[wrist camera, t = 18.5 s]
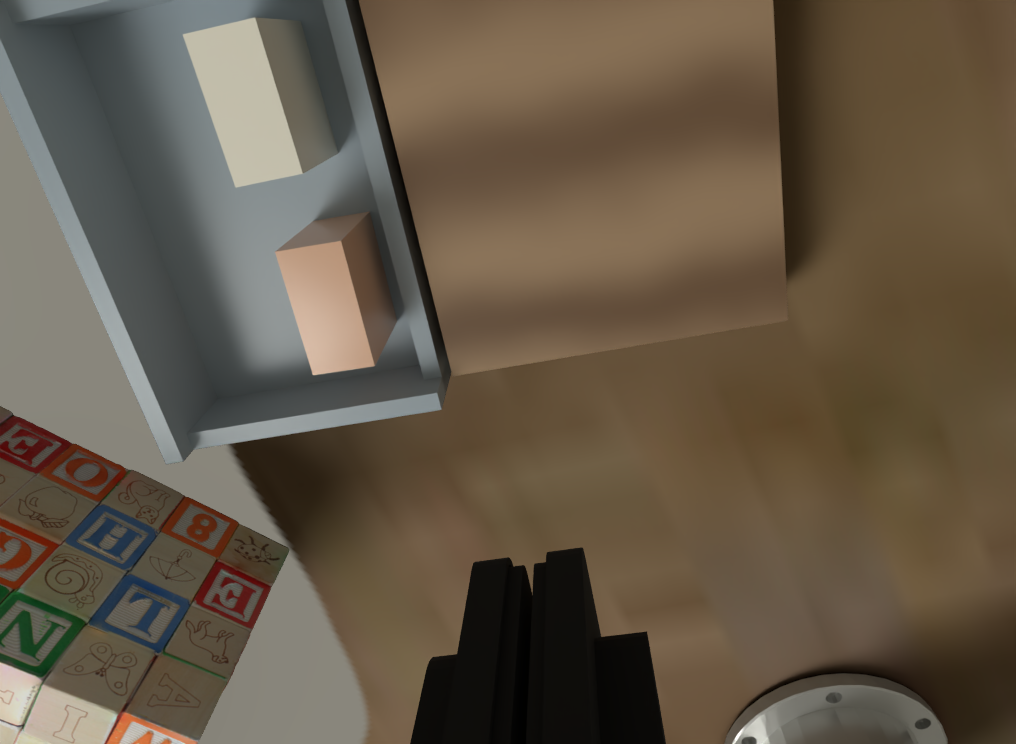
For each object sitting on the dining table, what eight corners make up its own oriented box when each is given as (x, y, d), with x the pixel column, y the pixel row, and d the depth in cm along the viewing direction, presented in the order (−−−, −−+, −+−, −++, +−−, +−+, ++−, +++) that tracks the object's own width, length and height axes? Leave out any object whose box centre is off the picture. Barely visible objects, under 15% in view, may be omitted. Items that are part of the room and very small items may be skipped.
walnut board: (767, 297, 33) (788, 320, 30) (459, 349, 34) (452, 376, 32) (742, -125, 26) (766, -143, 24) (366, -36, 28) (347, -44, 25)
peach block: (374, 366, 29) (312, 375, 29) (397, 321, 33) (343, 329, 33) (341, 240, 27) (274, 251, 27) (369, 211, 31) (313, 220, 31)
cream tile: (302, 173, 26) (235, 187, 26) (338, 153, 30) (280, 165, 31) (254, 17, 24) (182, 34, 24) (300, 20, 28) (239, 35, 29)
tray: (451, 370, 35) (438, 420, 30) (212, 410, 36) (165, 464, 32) (343, -63, 28) (305, -82, 23) (51, 8, 29) (-40, 2, 24)
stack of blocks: (-134, 444, 38) (-417, 614, 27) (-108, 348, 36) (-405, 491, 24) (248, 622, 42) (142, 836, 31) (294, 547, 40) (198, 749, 28)
